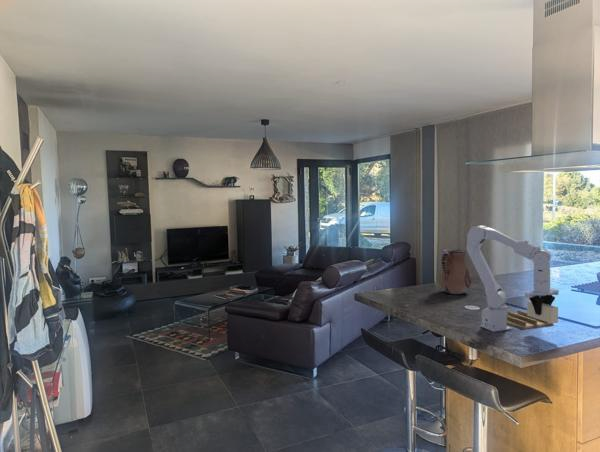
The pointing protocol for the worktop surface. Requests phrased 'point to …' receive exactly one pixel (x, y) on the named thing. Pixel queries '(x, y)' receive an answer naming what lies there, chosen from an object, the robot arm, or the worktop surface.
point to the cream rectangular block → (543, 312)
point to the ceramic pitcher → (454, 272)
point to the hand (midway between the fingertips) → (541, 314)
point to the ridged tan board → (524, 320)
